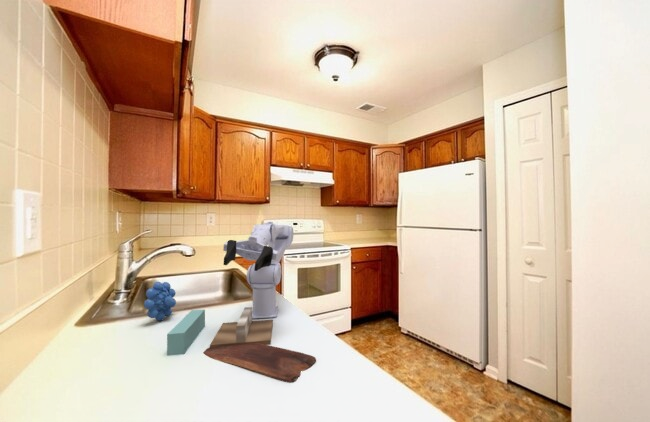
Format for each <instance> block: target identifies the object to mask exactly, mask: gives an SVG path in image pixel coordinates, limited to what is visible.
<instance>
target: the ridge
mask: <svg viewBox="0 0 650 422" xmlns="http://www.w3.org/2000/svg"><path fill="white" fill-rule="evenodd" d="M252 311H253V306H248V307H247V306H246V307H244V308H243V310H242V311H241V314H240V317H239V318H238V319H239V320H238V321H233V322H230V321H229V322H222V324H221V326H220V327H219V329H218V331H217V332H216V334H215V336H214V337H213V339H212V341H211V342H210V344H209V347H210V349H211V348H215V347H222V346H230V345H239V344H250V343H259V344H264V345H269V346H271V344H272V343H271V342H272V334H273V326H274V325H273V324H274V320H273V319H264V320H263V319H262V320H253V319H252Z"/></svg>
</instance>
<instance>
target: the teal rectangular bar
mask: <svg viewBox="0 0 650 422" xmlns="http://www.w3.org/2000/svg"><path fill="white" fill-rule="evenodd" d="M204 328H206V309H191V310H190V311H189V312H188V313H187V314H186V315H185V316H184V317H183V318H182V319H181V320H179V322H177V324H175V326H174V327H173V328H172V329H171V330H170V331H168V332H167V334H166V336H167V339H166V348H167V349H166V352H167V353H166V355H167V356H179V355H185V354H186V352H187V351H188V350H189V349H190V347H191V346H192V344H193V343H194V342H195V340H197V338H198V336H199V335H200V334H201V332H202V331H203V329H204Z"/></svg>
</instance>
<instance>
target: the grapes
mask: <svg viewBox="0 0 650 422" xmlns="http://www.w3.org/2000/svg"><path fill="white" fill-rule="evenodd" d="M171 287H172V286H171V284H170V283H169V282H167V281H164V282H161V281H156V282H154V283H153V285H152V287H150V288H148V289H147V290H146V292H145V296H146V297H147V299H145V300H144V302H143V307H144V308H145V309H146V310H147V311H146V313H147V316H148V317H149V318H150V319H155V320H156V321H159V322H161V321H164V319H165V318H166V317H170V316H171V315H172V313H173V309H172V308H174V307H175V306H176V304H177V300H176V299H175V298H174V297H175V296H176V290H175V289H174V288H171Z"/></svg>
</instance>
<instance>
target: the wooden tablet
mask: <svg viewBox="0 0 650 422" xmlns="http://www.w3.org/2000/svg"><path fill="white" fill-rule="evenodd" d="M202 353H203V354H204V356H206V357H208V358H210V359H211V360H216V361H218V362H222V363H226V364H230V365H232V366H233V365H234V366H236V367H241V368H244V369H247V370H249V371H252V372H255V373H258V374H260V375H264V376H267V377H269V378H271V379H276V380H278V379H279V381H282V380H283V382H286V381H287V383H294V381H295V382H297V380H298V379H299V378H300V376H301V374H302V373H301V371H302V372H304V371H307V370H308V369H309V370H310V368H311V367H313V366H314V364H315V363H316V362H317V359H316V357H315V356H313V355H311V354H307V353H304V352H299V351H295V350H291V349H287V348H282V347H277V346H272V345H264V344H259V343H250V344H239V345H230V346H222V347H215V348H211V349H210V346H209V347H208V348H206V349H205V350H204V351H203V352H202ZM298 377H299V378H298Z"/></svg>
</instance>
